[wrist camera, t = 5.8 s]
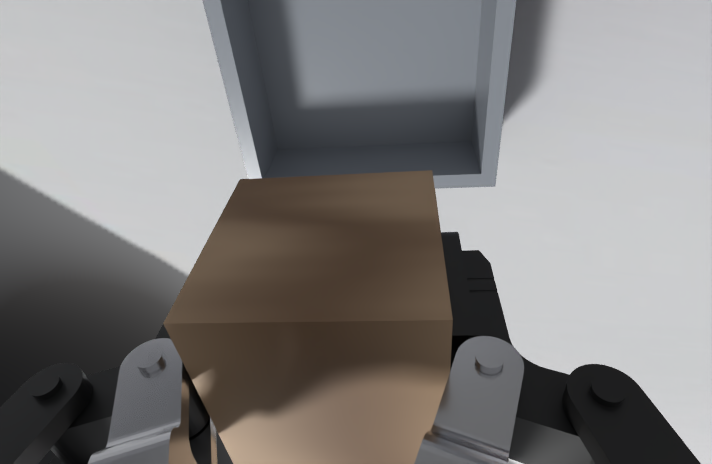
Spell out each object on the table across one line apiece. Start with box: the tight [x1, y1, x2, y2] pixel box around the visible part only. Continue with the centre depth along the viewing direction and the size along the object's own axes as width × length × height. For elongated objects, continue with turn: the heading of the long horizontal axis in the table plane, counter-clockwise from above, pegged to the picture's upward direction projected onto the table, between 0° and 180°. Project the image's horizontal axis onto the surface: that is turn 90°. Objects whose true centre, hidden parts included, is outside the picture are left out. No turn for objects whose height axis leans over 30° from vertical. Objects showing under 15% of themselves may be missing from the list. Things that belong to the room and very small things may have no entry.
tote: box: [203, 0, 516, 188], centre depth 22 cm, size 14×18×5 cm
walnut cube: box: [163, 170, 453, 464], centre depth 11 cm, size 5×5×5 cm
